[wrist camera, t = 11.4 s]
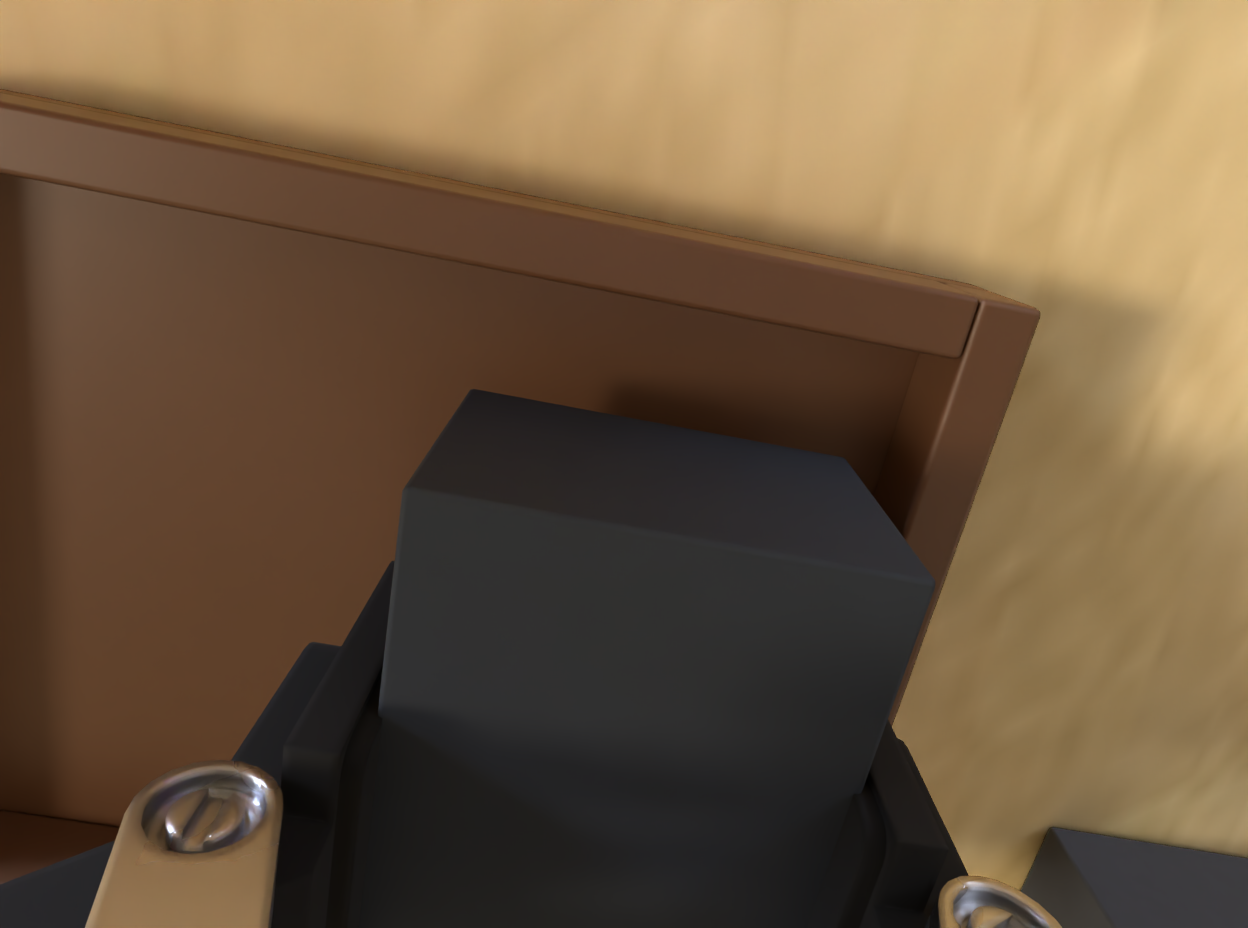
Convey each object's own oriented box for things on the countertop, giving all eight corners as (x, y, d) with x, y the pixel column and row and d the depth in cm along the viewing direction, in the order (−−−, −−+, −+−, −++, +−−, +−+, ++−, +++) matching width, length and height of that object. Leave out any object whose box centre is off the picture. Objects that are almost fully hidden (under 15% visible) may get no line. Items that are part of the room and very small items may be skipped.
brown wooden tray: (972, 284, 12) (1045, 310, 10) (762, 918, 17) (783, 1033, 14) (-127, 62, 11) (-304, 39, 9) (-54, 797, 16) (-163, 900, 13)
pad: (847, 456, 11) (940, 581, 8) (710, 909, 14) (738, 1145, 10) (470, 386, 11) (401, 486, 7) (405, 864, 13) (334, 1092, 10)
